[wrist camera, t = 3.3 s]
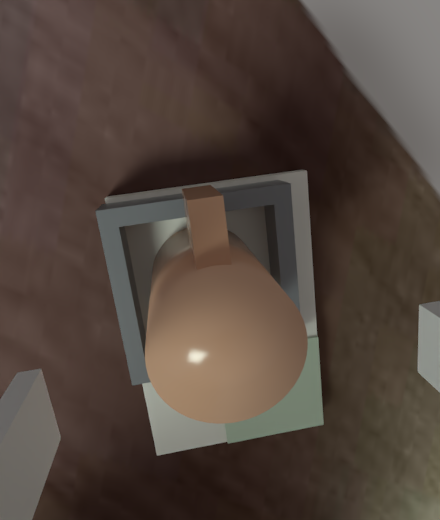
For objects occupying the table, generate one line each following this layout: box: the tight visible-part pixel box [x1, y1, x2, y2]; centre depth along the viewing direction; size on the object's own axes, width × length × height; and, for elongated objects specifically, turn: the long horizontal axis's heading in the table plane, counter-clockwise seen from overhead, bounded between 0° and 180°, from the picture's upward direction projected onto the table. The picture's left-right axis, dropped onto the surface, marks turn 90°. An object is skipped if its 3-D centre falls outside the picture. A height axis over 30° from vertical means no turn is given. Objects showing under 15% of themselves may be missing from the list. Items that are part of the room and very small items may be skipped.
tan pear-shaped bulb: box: [145, 185, 308, 424], centre depth 20 cm, size 9×6×10 cm
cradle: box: [96, 180, 300, 385], centre depth 24 cm, size 10×10×2 cm
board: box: [105, 170, 324, 456], centre depth 27 cm, size 12×18×1 cm, turn 7°
